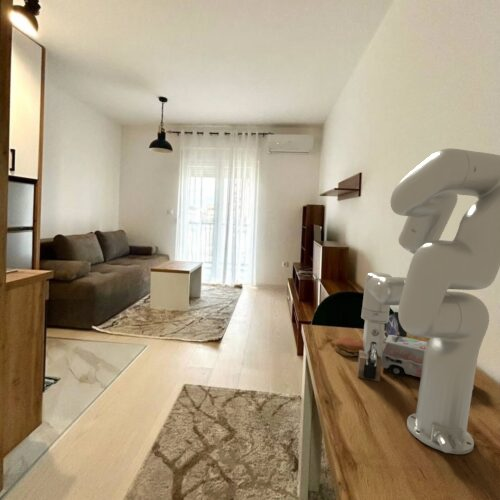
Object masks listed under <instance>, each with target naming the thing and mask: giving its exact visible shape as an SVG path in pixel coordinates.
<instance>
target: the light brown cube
mask: <svg viewBox="0 0 500 500" xmlns="http://www.w3.org/2000/svg"><path fill="white" fill-rule="evenodd" d="M368 354H371V352H368ZM357 357H358V358H357V367H356V369H357V378H361V379H366V380H371V381H375V382H381V381H380V380H381V375H382V374H381V373H382V368H383V367H382V359H381V357H380V356H378V354H377V361H376V366H377V367H376V375H375V379H374V380H373V379H368V378H364V377H363V374H364V365H365V364H366V354H365V353H364V351H361V350H359V356H357ZM369 358H370V356H369ZM369 358H368V359H369Z"/></svg>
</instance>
